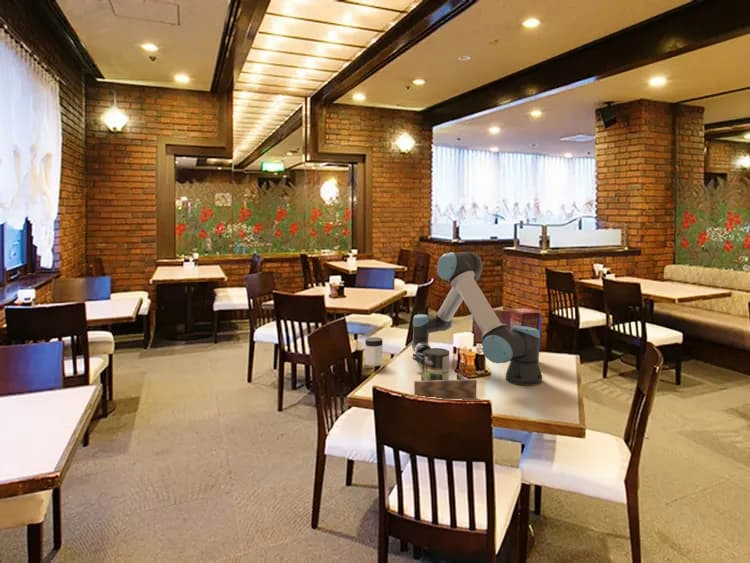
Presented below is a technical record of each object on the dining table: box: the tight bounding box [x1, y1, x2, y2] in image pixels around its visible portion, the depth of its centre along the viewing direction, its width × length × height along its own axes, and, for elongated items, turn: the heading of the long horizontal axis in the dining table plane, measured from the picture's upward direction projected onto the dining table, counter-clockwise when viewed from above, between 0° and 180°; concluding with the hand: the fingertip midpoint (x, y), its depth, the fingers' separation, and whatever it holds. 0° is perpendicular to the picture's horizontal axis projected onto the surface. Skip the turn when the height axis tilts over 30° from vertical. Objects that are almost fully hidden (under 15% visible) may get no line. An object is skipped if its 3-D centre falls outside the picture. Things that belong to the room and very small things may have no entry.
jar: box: [364, 336, 384, 367], centre depth 251 cm, size 9×8×12 cm
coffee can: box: [424, 347, 450, 380], centre depth 221 cm, size 10×10×14 cm
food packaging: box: [509, 307, 540, 332], centre depth 253 cm, size 13×9×25 cm
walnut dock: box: [413, 372, 478, 399], centre depth 209 cm, size 24×10×7 cm, turn 94°
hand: (432, 366), depth 226 cm, fingers closed
